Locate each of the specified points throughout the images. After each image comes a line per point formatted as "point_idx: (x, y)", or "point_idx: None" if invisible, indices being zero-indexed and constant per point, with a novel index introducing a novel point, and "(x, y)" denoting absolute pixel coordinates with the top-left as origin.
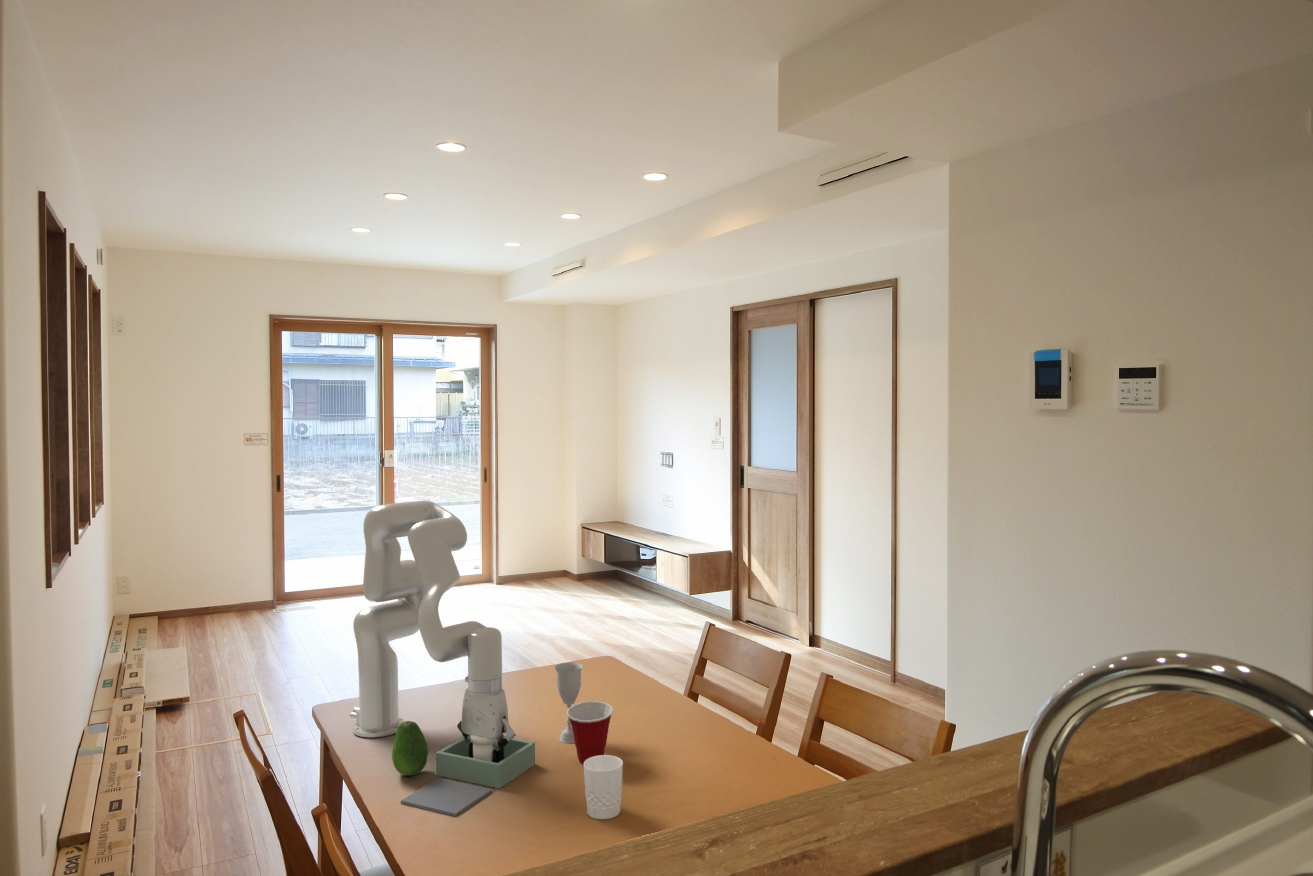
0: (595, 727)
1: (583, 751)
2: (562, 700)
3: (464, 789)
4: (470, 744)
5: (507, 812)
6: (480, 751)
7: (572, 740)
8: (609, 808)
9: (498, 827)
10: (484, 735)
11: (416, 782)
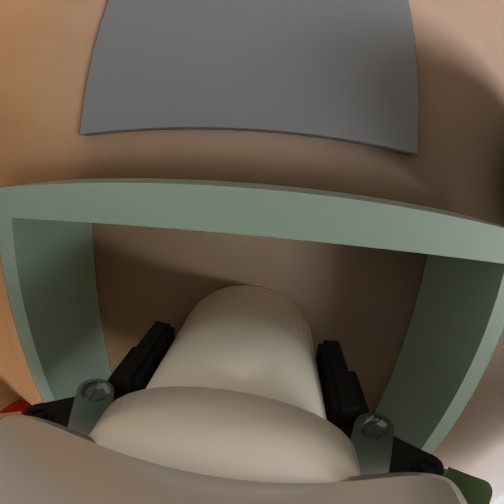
0: None
1: None
2: None
3: (195, 69)
4: (357, 424)
5: (9, 62)
6: (213, 361)
7: None
8: None
9: (18, 4)
10: (106, 467)
11: (478, 119)
